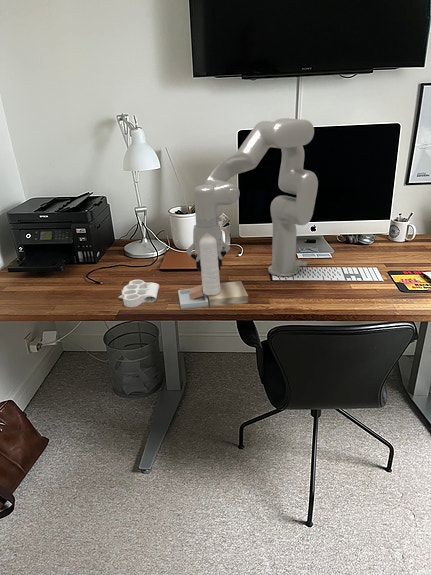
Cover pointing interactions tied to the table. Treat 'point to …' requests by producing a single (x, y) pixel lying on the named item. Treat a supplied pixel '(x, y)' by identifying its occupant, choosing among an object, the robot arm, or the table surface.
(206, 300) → the box
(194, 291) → the terracotta tile
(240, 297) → the birch plate
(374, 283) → the table surface
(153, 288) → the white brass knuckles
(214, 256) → the water bottle
